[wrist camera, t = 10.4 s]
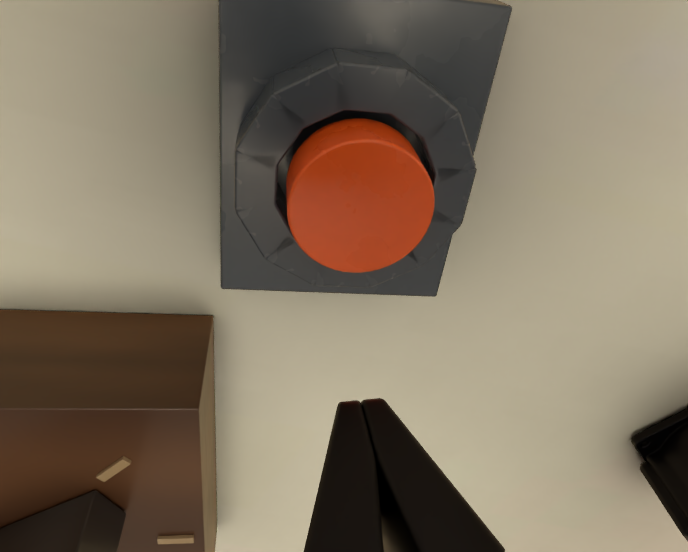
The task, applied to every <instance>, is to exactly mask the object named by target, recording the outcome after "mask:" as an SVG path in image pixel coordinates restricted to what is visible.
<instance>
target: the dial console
mask: <svg viewBox="0 0 688 552" xmlns="http://www.w3.org/2000/svg"><path fill="white" fill-rule="evenodd" d="M92 491H98V492H99V493H100V494H102V495H103V496H104V497H106V498H107V499H108V500H110V501H111V502H112V503H113V504H115V505H116V506H117V507H119V508H120V509H121V510H123V511H124V512H125V513H126V517H125V521H124V525H123V529H122V534H121V538H120V542H119V546H118V550H117V552H215V544H216V533H217V492H216V437H215V382H214V328H213V316H209V315H175V314H140V313H106V312H71V311H37V310H2V309H0V529H1V528H3V527H5V526H8V525H10V524H13V523H15V522H18V521H20V520H23V519H25V518H28V517H30V516H33V515H35V514H37V513H40V512H42V511H45V510H47V509H50V508H52V507H55V506H57V505H60V504H62V503H65V502H67V501H70V500H72V499H74V498H77V497H79V496H82V495H84V494H87V493H89V492H92Z"/></svg>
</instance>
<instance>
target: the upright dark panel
mask: <svg viewBox="0 0 688 552" xmlns="http://www.w3.org/2000/svg"><path fill="white" fill-rule="evenodd" d="M125 517H126V513H125V512H124V511H123V510H121V509H120V508H119V507H117V506H116V505H115V504H113V503H112V502H111V501H110V500H108V499H107V498H106V497H104V496H103V495H102V494H100V493H99V492H98V491H92V492H89V493H87V494H84V495H82V496H79V497H77V498H74V499H72V500H70V501H67V502H65V503H62V504H60V505H57V506H55V507H52V508H50V509H47V510H45V511H42V512H40V513H37V514H35V515H33V516H30V517H28V518H25V519H23V520H20V521H18V522H15V523H13V524H10V525H8V526H5V527H3V528H1V529H0V552H117V550H118V546H119V542H120V538H121V534H122V529H123V525H124V521H125Z"/></svg>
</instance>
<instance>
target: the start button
mask: <svg viewBox="0 0 688 552" xmlns="http://www.w3.org/2000/svg"><path fill="white" fill-rule="evenodd" d="M286 199H287V218H288V224H289V227H290V230H291V233H292V235H293V237H294V239H295V241H296V242H297V244H298V245H299V247H300V248H301V249H302V250H303V251H304V252H305V253H306V254H307V255H308V256H309V257H311V258H312V259H313V260H315V261H316V262H318V263H319V264H321V265H324V266H326V267H328V268H331V269H334V270H338V271H342V272H351V273H362V272H370V271H374V270H379V269H382V268H384V267H387V266H389V265H392V264H394V263H396V262H397V261H399V260H401V259H402V258H404V257H405V256H406V255H407V254H409V253H410V252H411V251H412V250H413V249H414V248H415V247H416V246H417V245H418V244H419V242H420V241H421V240H422V238H423V237H424V235H425V234H426V232H427V230H428V228H429V225H430V223H431V220H432V216H433V212H434V202H435V197H434V189H433V185H432V182H431V179H430V177H429V175H428V172H427V171H426V169H425V167H424V165H423V164H422V162H421V160H420V158H419V157H418V155H417V153H416V151H415V150H414V148H413V147H412V145H411V144H410V142H409V141H408V140H407V139H406V138H405V137H404V136H403V135H402V134H401V133H400V132H399V131H397V130H396V129H394V128H392V127H391V126H389V125H387V124H384V123H382V122H379V121H375V120H371V119H364V118H353V119H344V120H340V121H336V122H333V123H331V124H328V125H326V126H324V127H322V128H320V129H318V130H317V131H316V132H314V133H313V134H311V135H310V136H309V137H308V138H307V139H306V140H305V141H304V142H303V143H302V144H301V146H300V147H299V148H298V149H297V151H296V153H295V154H294V156H293V158H292V160H291V163H290V165H289V168H288V172H287V178H286Z"/></svg>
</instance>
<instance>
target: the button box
mask: <svg viewBox="0 0 688 552" xmlns="http://www.w3.org/2000/svg"><path fill="white" fill-rule="evenodd" d="M511 11H512V7H511V6H510V5H507V4H505V3H503V2H500V1H498V0H219V123H220V246H221V288H222V289H242V290H269V291H297V292H324V293H352V294H379V295H406V296H434V297H435V296H436V295H437V291H438V287H439V284H440V280H441V276H442V272H443V268H444V265H445V261H446V257H447V253H448V249H449V246H450V242H451V238H452V234H453V233H454V232H455V231H456V230H457V229H458V228H459V227H460V225H461V224H462V221H463V217H464V214H465V210H466V206H467V203H468V199H469V195H470V192H471V188H472V184H473V181H474V177H475V173H476V168H475V165H476V164H475V161H474V158H473V155H474V151H475V147H476V143H477V140H478V136H479V132H480V128H481V124H482V121H483V117H484V113H485V109H486V106H487V102H488V98H489V94H490V90H491V87H492V83H493V79H494V75H495V71H496V68H497V64H498V60H499V56H500V53H501V49H502V45H503V41H504V37H505V34H506V30H507V26H508V22H509V18H510V15H511ZM353 118H364V119H371V120H375V121H379V122H382V123H384V124H387V125H389V126H391V127H392V128H394V129H396V130H397V131H399V132H400V133H401V134H402V135H403V136H404V137H405V138H406V139H407V140H408V141H409V142H410V144H411V145H412V147H413V148H414V150H415V151H416V153H417V155H418V157H419V158H420V160H421V162H422V164H423V165H424V167H425V169H426V171H427V172H428V175H429V177H430V179H431V182H432V185H433V189H434V197H435V202H434V212H433V216H432V220H431V223H430V225H429V228H428V230H427V232H426V234H425V235H424V237H423V238H422V240H421V241H420V242H419V244H418V245H417V246H416V247H415V248H414V249H413V250H412V251H411V252H410V253H409V254H407V255H406V256H405V257H404V258H402V259H401V260H399V261H397V262H396V263H394V264H392V265H389V266H387V267H384V268H382V269H379V270H374V271H370V272H362V273H351V272H342V271H338V270H334V269H331V268H328V267H326V266H324V265H321V264H319V263H318V262H316V261H315V260H313V259H312V258H311V257H309V256H308V255H307V254H306V253H305V252H304V251H303V250H302V249H301V248H300V247H299V245H298V244H297V242H296V241H295V239H294V237H293V235H292V233H291V230H290V227H289V224H288V218H287V199H286V178H287V172H288V168H289V165H290V163H291V160H292V158H293V156H294V154H295V153H296V151H297V149H298V148H299V147H300V146H301V144H302V143H303V142H304V141H305V140H306V139H307V138H308V137H309V136H310V135H311V134H313V133H314V132H316V131H317V130H318V129H320V128H322V127H324V126H326V125H328V124H331V123H333V122H336V121H340V120H344V119H353Z"/></svg>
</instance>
